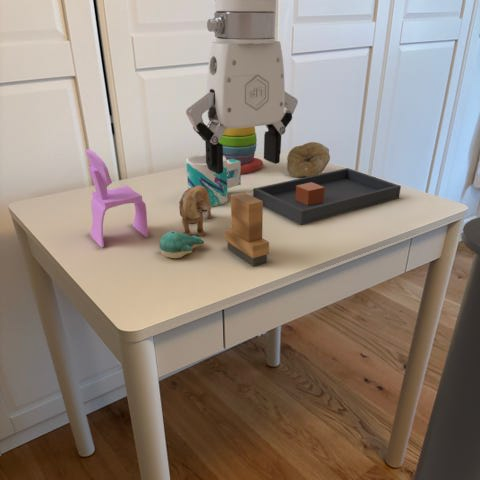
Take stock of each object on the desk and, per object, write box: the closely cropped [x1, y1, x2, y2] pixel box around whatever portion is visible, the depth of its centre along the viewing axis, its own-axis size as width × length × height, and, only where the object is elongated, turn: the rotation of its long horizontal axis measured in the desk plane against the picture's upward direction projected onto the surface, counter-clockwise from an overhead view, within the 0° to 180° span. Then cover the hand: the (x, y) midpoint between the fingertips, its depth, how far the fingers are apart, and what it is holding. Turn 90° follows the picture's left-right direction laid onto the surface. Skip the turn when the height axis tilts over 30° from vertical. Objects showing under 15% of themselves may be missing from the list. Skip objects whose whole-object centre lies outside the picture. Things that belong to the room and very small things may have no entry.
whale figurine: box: [158, 230, 205, 259], centre depth 80 cm, size 6×7×4 cm
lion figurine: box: [178, 185, 213, 237], centre depth 87 cm, size 15×5×9 cm, turn 2°
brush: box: [225, 192, 270, 267], centre depth 77 cm, size 8×3×10 cm, turn 33°
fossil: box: [286, 141, 331, 178], centre depth 115 cm, size 9×4×10 cm
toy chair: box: [85, 148, 149, 249], centre depth 82 cm, size 8×9×15 cm
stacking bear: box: [219, 126, 264, 175], centre depth 115 cm, size 11×10×18 cm
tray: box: [252, 167, 402, 226], centre depth 100 cm, size 26×16×3 cm, turn 123°
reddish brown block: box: [295, 182, 325, 206], centre depth 98 cm, size 4×4×3 cm
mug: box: [185, 153, 242, 208], centre depth 101 cm, size 8×12×8 cm
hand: (244, 166), depth 71 cm, fingers open, 9 cm apart
